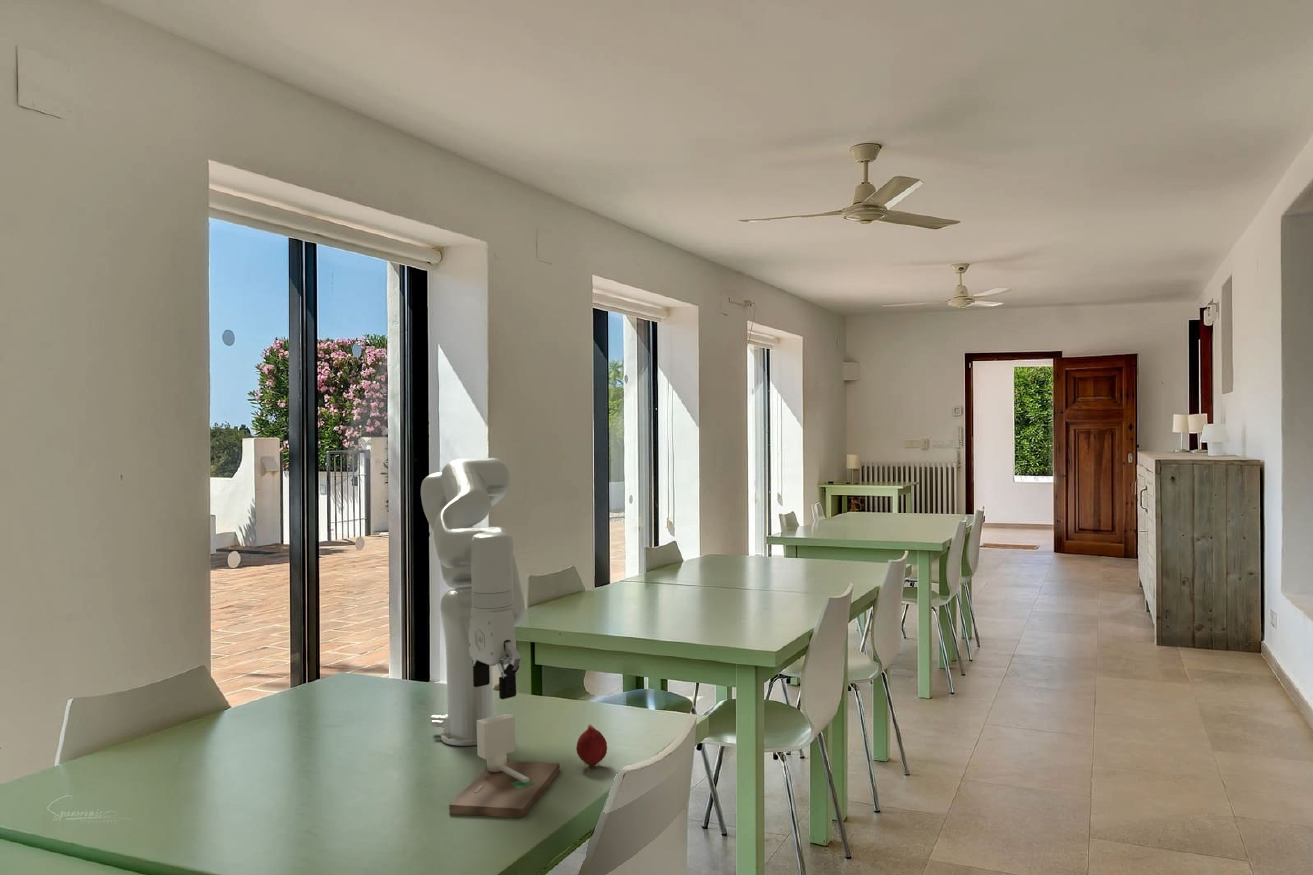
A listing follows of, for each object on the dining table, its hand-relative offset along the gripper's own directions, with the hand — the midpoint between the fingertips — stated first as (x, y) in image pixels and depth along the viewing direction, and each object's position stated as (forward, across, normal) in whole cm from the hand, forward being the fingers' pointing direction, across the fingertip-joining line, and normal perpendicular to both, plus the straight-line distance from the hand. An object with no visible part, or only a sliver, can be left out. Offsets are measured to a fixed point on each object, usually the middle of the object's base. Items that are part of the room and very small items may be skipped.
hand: (494, 691), depth 169 cm
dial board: (+16, +8, -2) cm, 18 cm away
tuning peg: (+14, +5, 0) cm, 15 cm away
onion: (+16, +8, +16) cm, 24 cm away
